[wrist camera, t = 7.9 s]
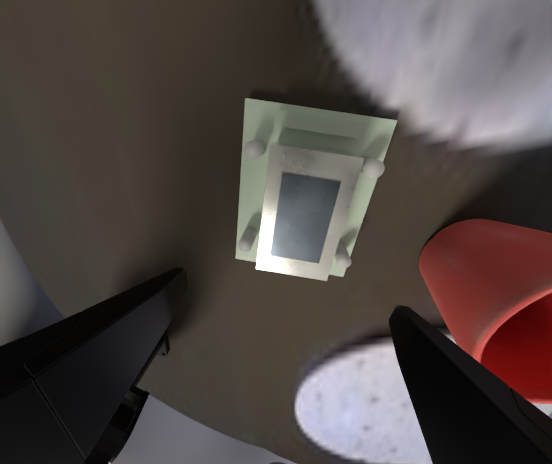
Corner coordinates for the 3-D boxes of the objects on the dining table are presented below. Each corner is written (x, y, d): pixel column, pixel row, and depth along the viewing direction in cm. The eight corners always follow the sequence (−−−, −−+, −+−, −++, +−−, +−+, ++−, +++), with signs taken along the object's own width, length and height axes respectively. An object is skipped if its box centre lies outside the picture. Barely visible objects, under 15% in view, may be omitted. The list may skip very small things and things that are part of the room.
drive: (321, 250, 20) (327, 281, 16) (264, 241, 20) (255, 269, 16) (348, 151, 16) (364, 158, 12) (277, 140, 16) (269, 143, 12)
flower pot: (563, 216, 18) (818, 299, 9) (479, 308, 23) (592, 421, 14) (441, 186, 18) (579, 241, 9) (383, 285, 23) (436, 384, 14)
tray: (341, 270, 22) (348, 294, 19) (238, 253, 22) (228, 273, 19) (391, 121, 16) (414, 118, 13) (248, 99, 16) (236, 92, 13)
